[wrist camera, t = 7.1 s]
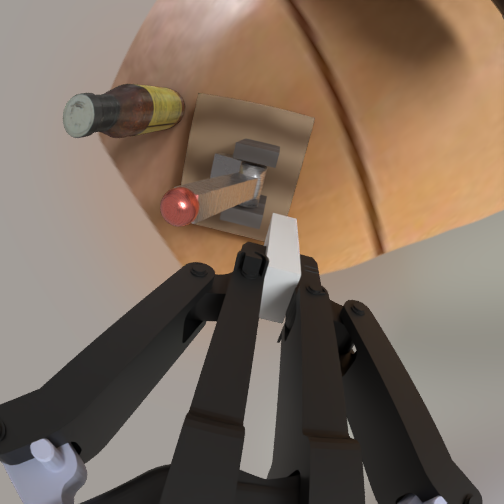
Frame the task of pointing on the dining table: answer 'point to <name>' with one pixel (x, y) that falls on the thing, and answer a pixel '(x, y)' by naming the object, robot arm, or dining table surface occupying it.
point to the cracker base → (235, 128)
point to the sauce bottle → (123, 111)
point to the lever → (215, 191)
